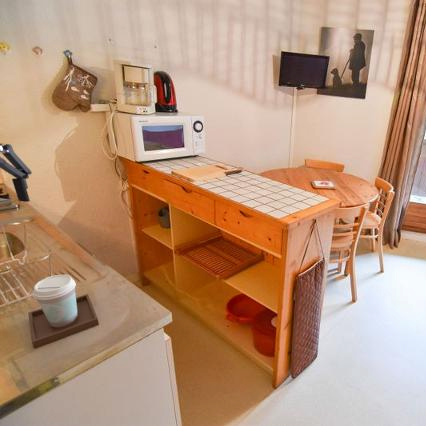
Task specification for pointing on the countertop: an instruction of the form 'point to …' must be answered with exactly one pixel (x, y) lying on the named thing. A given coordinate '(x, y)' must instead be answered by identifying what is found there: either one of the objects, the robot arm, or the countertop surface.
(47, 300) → the coffee cup
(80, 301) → the tray
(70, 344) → the countertop surface
